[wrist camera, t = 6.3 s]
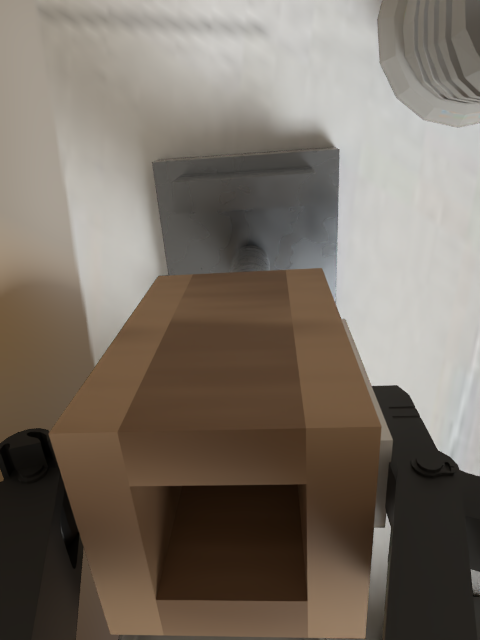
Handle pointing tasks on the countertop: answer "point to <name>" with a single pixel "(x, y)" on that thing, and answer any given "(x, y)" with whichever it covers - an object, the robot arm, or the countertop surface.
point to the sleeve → (227, 462)
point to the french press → (433, 57)
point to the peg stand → (250, 212)
